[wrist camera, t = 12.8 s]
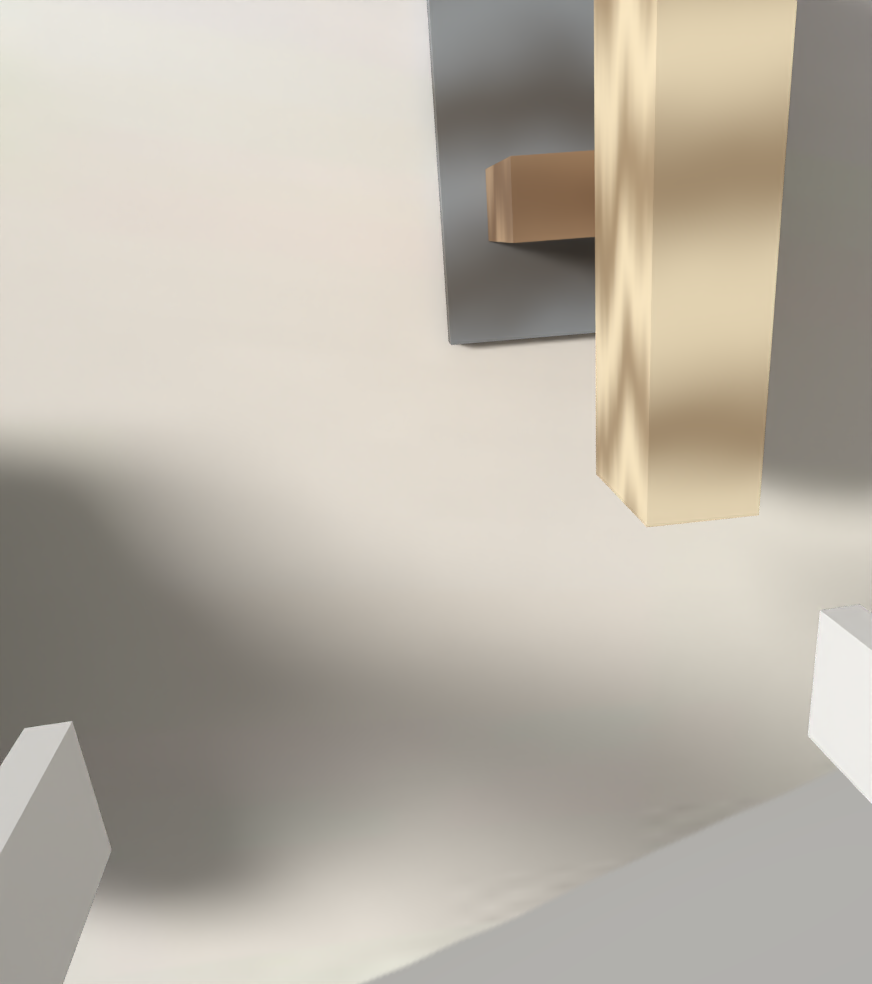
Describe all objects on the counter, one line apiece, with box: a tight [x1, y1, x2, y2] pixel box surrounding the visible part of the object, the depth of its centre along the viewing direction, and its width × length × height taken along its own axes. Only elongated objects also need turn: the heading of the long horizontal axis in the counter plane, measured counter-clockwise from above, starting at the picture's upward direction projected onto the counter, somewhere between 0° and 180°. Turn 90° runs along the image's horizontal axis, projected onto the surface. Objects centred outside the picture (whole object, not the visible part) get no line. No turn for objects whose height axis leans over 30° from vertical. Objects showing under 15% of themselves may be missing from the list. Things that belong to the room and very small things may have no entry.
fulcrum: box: [427, 0, 596, 345], centre depth 30 cm, size 18×14×7 cm
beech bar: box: [594, 0, 797, 527], centre depth 25 cm, size 22×4×6 cm, turn 4°
